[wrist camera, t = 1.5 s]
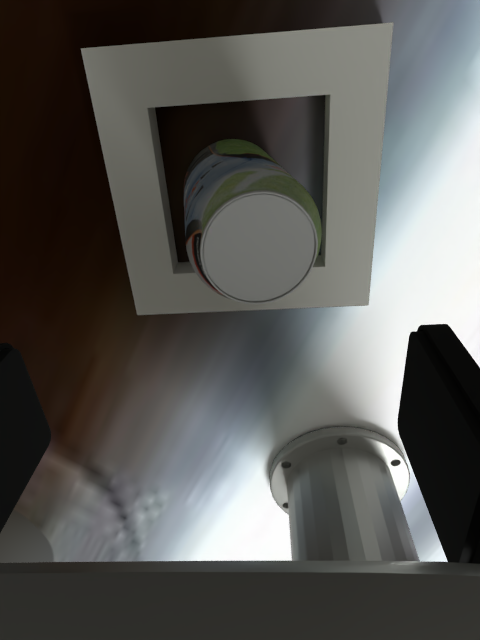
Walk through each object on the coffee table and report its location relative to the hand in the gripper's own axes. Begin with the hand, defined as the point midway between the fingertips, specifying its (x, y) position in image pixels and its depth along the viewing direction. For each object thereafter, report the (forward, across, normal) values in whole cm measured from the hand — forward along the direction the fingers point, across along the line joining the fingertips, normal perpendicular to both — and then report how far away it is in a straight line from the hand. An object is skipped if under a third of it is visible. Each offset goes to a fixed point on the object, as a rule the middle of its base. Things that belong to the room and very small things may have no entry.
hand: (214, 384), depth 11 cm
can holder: (+20, 0, 0) cm, 20 cm away
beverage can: (+20, 0, 0) cm, 20 cm away
